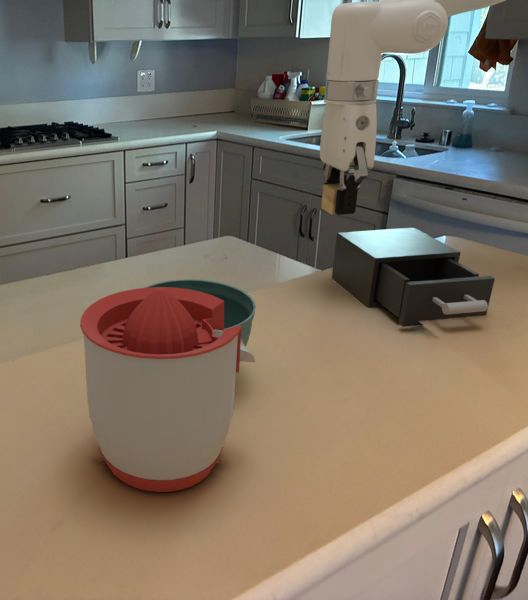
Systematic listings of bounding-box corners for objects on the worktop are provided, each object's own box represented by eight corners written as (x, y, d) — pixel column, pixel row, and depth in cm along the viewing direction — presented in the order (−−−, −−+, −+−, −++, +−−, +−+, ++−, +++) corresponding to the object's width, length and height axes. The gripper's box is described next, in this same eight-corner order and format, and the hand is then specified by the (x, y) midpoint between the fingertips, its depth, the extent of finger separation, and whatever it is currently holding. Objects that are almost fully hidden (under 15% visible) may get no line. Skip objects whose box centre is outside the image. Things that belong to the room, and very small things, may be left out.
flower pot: (176, 427, 72) (177, 345, 67) (106, 369, 84) (102, 296, 80) (276, 385, 79) (283, 309, 75) (198, 338, 92) (200, 270, 88)
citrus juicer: (270, 497, 61) (287, 314, 53) (95, 518, 59) (84, 331, 50) (225, 409, 75) (233, 254, 67) (83, 423, 73) (73, 265, 65)
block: (344, 206, 103) (346, 182, 101) (355, 213, 99) (358, 188, 97) (321, 208, 102) (323, 184, 100) (331, 214, 98) (334, 190, 97)
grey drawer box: (450, 300, 102) (460, 252, 99) (367, 307, 100) (375, 258, 97) (406, 271, 115) (413, 227, 111) (331, 277, 113) (336, 232, 109)
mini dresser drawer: (504, 332, 90) (515, 289, 87) (419, 340, 88) (427, 296, 85) (436, 288, 105) (444, 250, 102) (362, 294, 103) (367, 256, 100)
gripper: (403, 96, 86) (386, 222, 93) (348, 86, 101) (337, 195, 108) (352, 99, 85) (339, 226, 92) (305, 88, 100) (296, 198, 108)
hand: (338, 208), depth 100 cm, fingers closed on block, 4 cm apart
